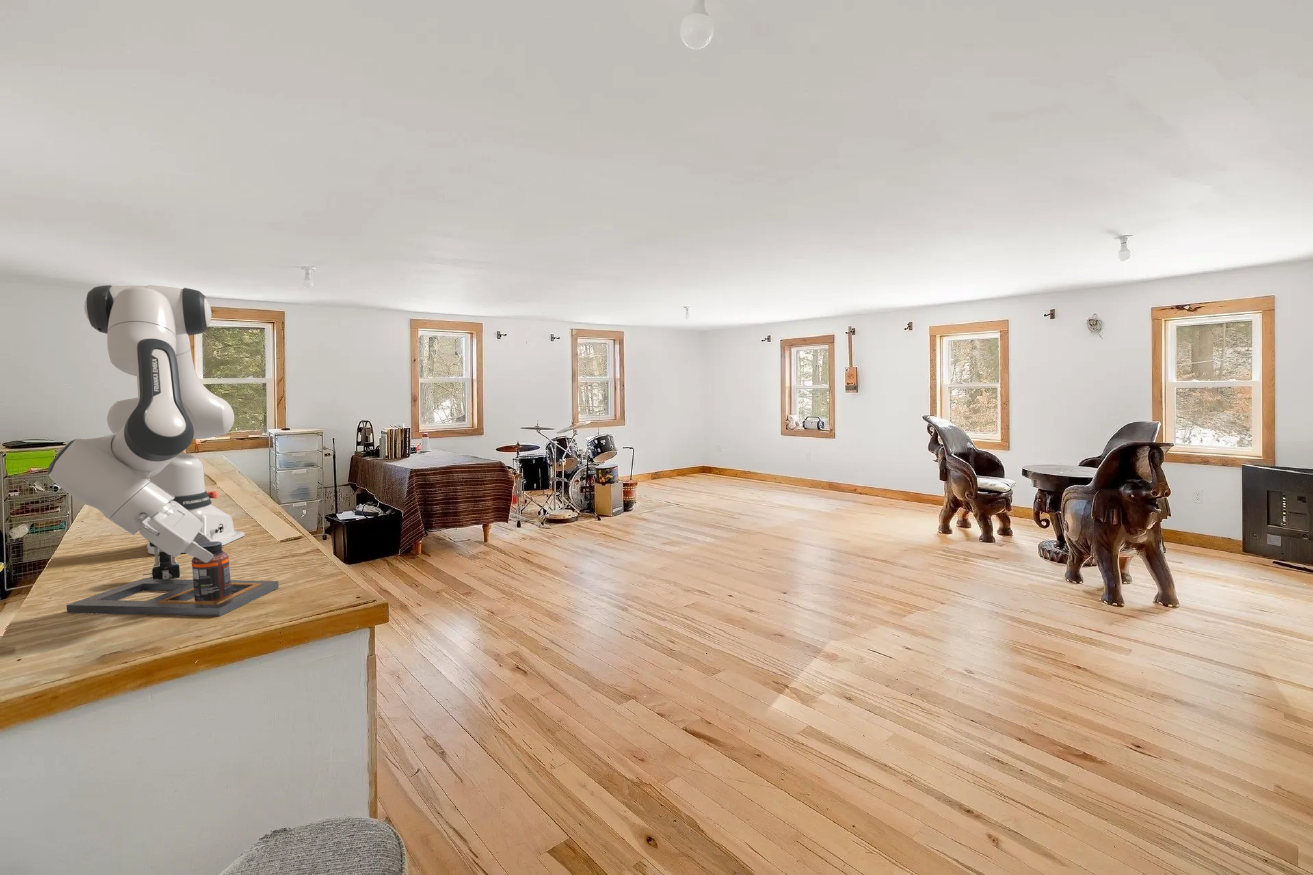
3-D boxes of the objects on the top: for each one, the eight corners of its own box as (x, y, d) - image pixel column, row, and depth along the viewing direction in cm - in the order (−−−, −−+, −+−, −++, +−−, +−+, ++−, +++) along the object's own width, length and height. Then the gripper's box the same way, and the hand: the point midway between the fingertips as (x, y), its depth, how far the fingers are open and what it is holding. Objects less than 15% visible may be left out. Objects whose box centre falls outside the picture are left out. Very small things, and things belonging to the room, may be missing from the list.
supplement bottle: (229, 593, 129) (226, 538, 128) (233, 601, 124) (230, 544, 123) (193, 599, 125) (189, 542, 124) (195, 608, 120) (191, 549, 119)
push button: (142, 584, 135) (138, 537, 135) (144, 578, 140) (140, 533, 139) (181, 578, 139) (178, 533, 138) (182, 572, 144) (179, 528, 143)
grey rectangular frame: (142, 585, 134) (142, 577, 134) (278, 588, 132) (278, 579, 132) (67, 612, 119) (66, 603, 118) (220, 616, 116) (219, 607, 116)
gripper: (148, 505, 110) (220, 553, 116) (168, 490, 128) (230, 532, 134) (117, 534, 108) (192, 581, 114) (142, 514, 126) (206, 556, 132)
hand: (213, 554), depth 124 cm, fingers open, 6 cm apart
